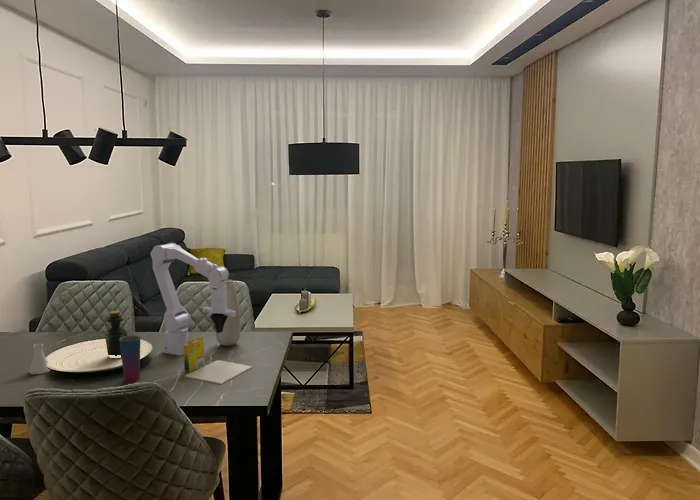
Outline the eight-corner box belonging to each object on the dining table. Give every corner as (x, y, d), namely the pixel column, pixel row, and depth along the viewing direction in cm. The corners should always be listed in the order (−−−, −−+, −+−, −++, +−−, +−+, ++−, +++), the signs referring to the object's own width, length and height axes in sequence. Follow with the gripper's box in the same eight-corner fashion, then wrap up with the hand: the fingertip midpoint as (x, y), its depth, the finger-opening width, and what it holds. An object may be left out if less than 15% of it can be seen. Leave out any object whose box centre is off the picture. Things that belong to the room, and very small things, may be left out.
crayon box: (200, 365, 206) (199, 335, 204) (205, 366, 204) (204, 336, 203) (183, 370, 200) (182, 340, 198) (189, 372, 198) (187, 341, 197)
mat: (185, 376, 194) (185, 375, 194) (217, 361, 210) (217, 359, 210) (221, 384, 187) (221, 383, 187) (252, 367, 203) (252, 366, 203)
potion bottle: (129, 352, 220) (126, 308, 217) (127, 358, 212) (125, 313, 210) (107, 354, 218) (104, 310, 215) (105, 360, 210) (102, 315, 207)
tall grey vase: (228, 339, 237) (227, 276, 233) (245, 344, 231) (243, 279, 227) (211, 345, 229) (208, 280, 225) (227, 350, 223) (225, 283, 219)
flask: (28, 376, 194) (25, 349, 192) (29, 369, 200) (27, 343, 199) (51, 373, 197) (49, 346, 196) (51, 366, 203) (49, 340, 202)
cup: (129, 384, 187) (127, 342, 185) (117, 380, 190) (115, 338, 188) (146, 378, 192) (144, 337, 190) (134, 374, 196) (132, 334, 194)
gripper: (197, 298, 211) (198, 332, 212) (227, 302, 204) (228, 337, 206) (209, 294, 217) (210, 327, 219) (239, 298, 211) (239, 332, 213)
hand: (219, 332), depth 213 cm, fingers closed
